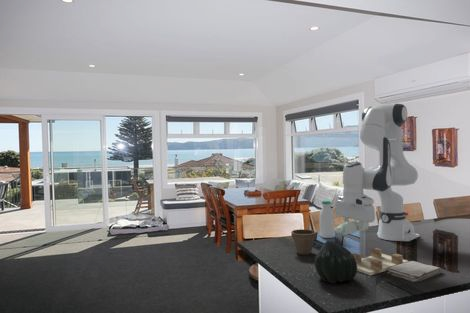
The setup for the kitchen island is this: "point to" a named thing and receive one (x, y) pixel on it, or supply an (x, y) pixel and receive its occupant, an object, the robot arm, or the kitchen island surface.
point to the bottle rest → (377, 262)
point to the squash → (335, 263)
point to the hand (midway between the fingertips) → (353, 228)
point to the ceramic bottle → (350, 227)
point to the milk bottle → (326, 220)
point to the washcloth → (413, 271)
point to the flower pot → (303, 240)
